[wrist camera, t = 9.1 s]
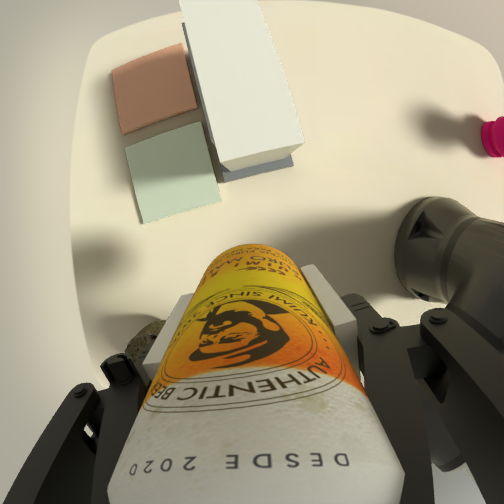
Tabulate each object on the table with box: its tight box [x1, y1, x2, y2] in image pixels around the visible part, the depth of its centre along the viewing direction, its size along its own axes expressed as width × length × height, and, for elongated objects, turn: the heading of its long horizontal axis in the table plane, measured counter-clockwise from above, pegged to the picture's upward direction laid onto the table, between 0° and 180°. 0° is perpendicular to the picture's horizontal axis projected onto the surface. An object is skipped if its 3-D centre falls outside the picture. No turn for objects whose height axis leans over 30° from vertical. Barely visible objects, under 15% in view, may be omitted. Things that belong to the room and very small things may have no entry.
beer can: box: [107, 244, 405, 504], centre depth 9 cm, size 6×6×15 cm
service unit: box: [179, 0, 305, 183], centre depth 23 cm, size 18×8×14 cm, turn 14°
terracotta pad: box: [112, 43, 198, 134], centre depth 29 cm, size 10×10×1 cm
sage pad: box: [125, 121, 222, 224], centre depth 31 cm, size 10×10×1 cm
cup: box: [125, 322, 166, 363], centre depth 33 cm, size 8×7×8 cm
